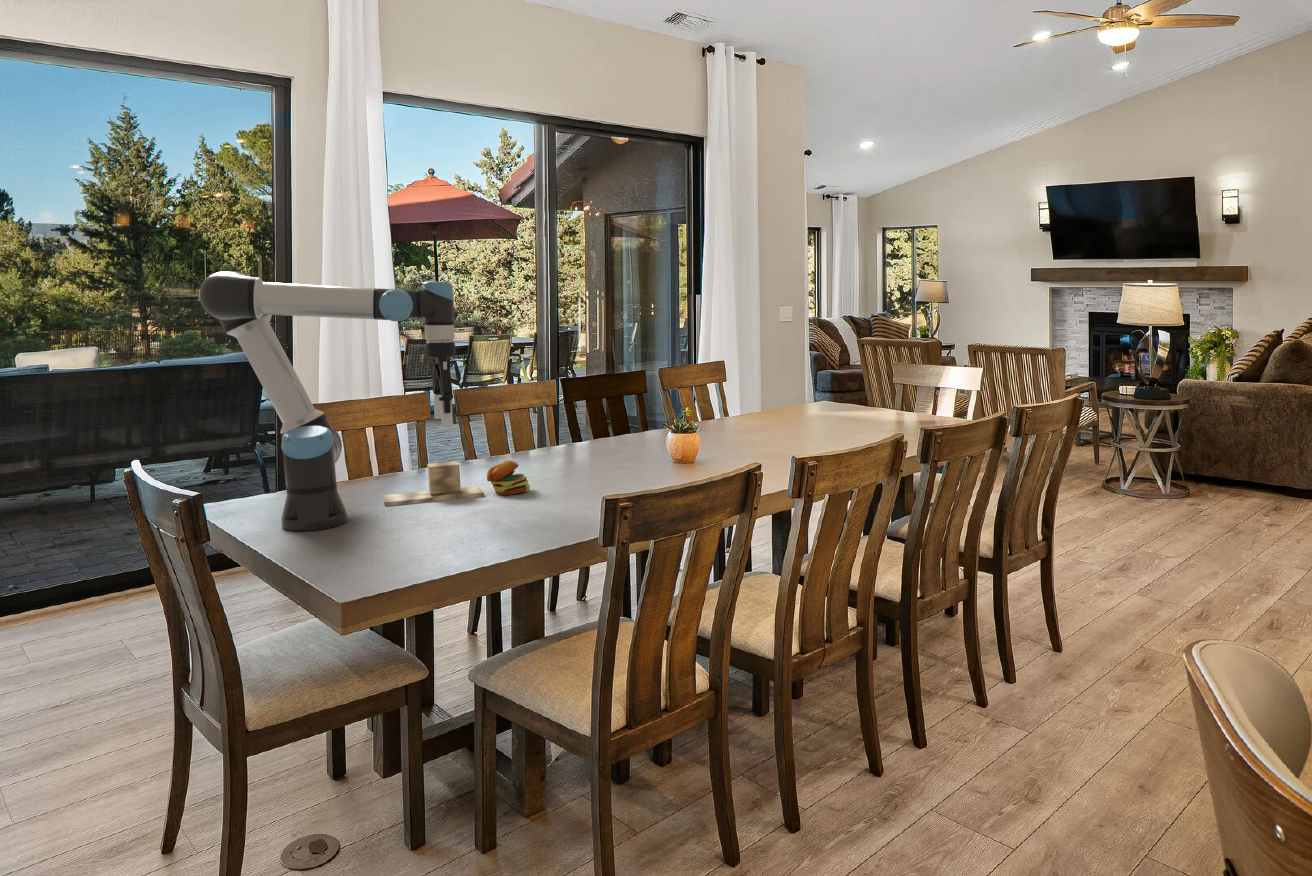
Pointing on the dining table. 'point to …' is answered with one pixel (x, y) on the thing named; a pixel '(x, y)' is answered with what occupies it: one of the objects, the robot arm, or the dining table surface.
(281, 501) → the dining table surface
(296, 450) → the robot arm
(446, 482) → the block
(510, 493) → the cheeseburger
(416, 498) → the board
